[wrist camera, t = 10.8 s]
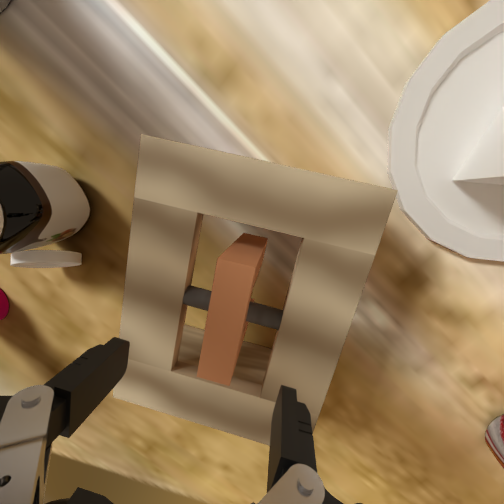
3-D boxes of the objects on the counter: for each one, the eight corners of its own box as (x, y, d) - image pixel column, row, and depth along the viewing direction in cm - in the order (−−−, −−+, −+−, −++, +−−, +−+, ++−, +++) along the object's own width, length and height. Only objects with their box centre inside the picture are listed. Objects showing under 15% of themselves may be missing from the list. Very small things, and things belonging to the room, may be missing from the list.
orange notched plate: (243, 232, 27) (217, 258, 17) (267, 238, 27) (255, 267, 17) (227, 313, 29) (196, 376, 19) (249, 319, 29) (229, 386, 19)
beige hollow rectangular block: (198, 157, 30) (140, 133, 18) (352, 192, 28) (397, 190, 17) (170, 330, 35) (112, 397, 24) (298, 366, 34) (304, 456, 22)
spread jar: (73, 158, 32) (-45, 137, 21) (126, 234, 33) (44, 254, 22) (13, 210, 35) (-119, 217, 23) (65, 279, 36) (-37, 317, 25)
